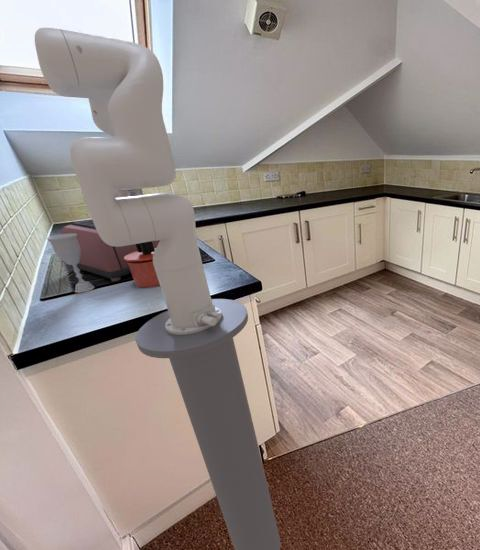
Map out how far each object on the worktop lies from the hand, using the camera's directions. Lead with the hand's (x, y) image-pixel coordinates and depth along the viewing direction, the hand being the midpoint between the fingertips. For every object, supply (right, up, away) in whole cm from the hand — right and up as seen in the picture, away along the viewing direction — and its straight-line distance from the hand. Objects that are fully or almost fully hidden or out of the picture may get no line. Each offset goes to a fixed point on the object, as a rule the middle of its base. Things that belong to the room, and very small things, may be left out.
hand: (146, 251), depth 100 cm
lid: (0, -1, +1) cm, 1 cm away
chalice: (-19, -13, -1) cm, 23 cm away
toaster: (-19, -2, +24) cm, 31 cm away
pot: (0, -10, +4) cm, 11 cm away
